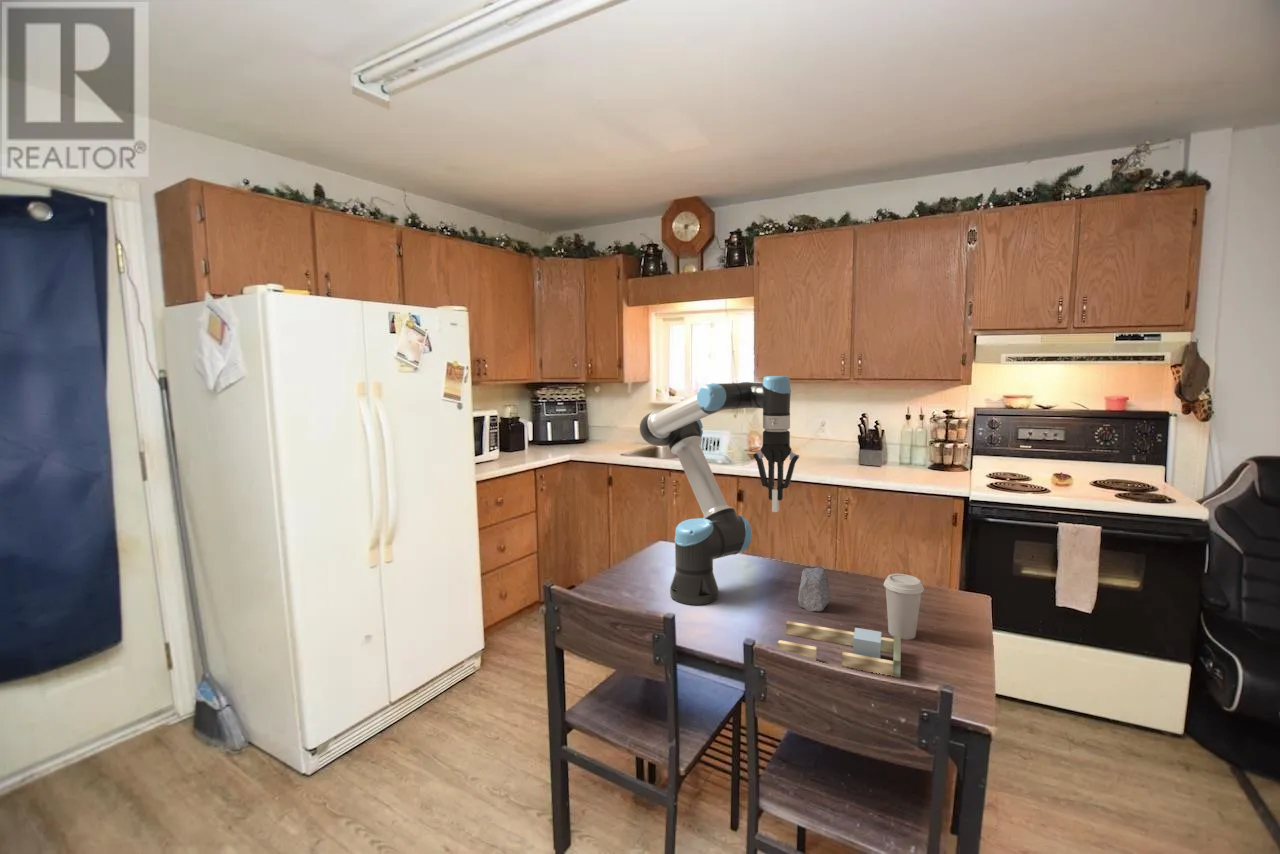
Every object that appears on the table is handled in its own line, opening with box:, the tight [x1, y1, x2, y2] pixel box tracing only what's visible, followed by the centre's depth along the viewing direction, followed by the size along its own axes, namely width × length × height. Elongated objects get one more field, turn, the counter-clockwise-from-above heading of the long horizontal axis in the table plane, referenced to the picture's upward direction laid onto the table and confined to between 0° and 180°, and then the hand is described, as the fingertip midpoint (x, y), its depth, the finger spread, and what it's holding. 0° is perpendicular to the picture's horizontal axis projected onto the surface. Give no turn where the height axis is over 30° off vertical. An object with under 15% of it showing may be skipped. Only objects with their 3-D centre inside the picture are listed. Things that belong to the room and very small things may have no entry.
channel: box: [777, 620, 902, 678], centre depth 138 cm, size 28×13×4 cm, turn 65°
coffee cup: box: [883, 573, 925, 641], centre depth 147 cm, size 10×10×15 cm
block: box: [852, 627, 882, 659], centre depth 135 cm, size 6×6×6 cm
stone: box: [797, 566, 831, 612], centre depth 166 cm, size 12×10×10 cm
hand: (775, 510), depth 162 cm, fingers closed
